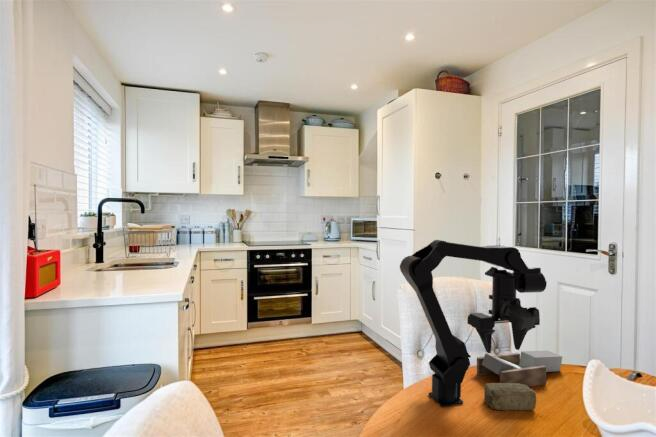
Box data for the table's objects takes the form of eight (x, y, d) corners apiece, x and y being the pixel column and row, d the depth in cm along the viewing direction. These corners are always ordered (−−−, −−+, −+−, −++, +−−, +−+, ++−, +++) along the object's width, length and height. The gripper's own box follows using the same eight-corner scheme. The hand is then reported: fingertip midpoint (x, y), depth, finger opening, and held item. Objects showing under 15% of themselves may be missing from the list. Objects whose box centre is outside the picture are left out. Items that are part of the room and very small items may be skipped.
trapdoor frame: (502, 390, 99) (502, 372, 99) (476, 373, 109) (476, 357, 109) (545, 384, 103) (546, 366, 103) (517, 368, 113) (517, 352, 113)
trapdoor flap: (499, 375, 100) (504, 362, 101) (480, 363, 108) (484, 352, 108) (536, 389, 104) (540, 376, 104) (515, 376, 112) (519, 365, 112)
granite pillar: (535, 357, 106) (562, 356, 112) (521, 351, 111) (548, 350, 116) (532, 372, 106) (560, 371, 112) (518, 366, 111) (545, 364, 116)
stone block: (537, 412, 89) (538, 392, 89) (492, 412, 89) (492, 392, 89) (524, 399, 95) (524, 381, 95) (481, 400, 94) (481, 381, 94)
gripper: (496, 302, 86) (495, 367, 86) (558, 298, 91) (557, 359, 91) (466, 292, 96) (465, 350, 97) (523, 288, 101) (522, 343, 102)
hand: (502, 351), depth 96 cm, fingers open, 9 cm apart
